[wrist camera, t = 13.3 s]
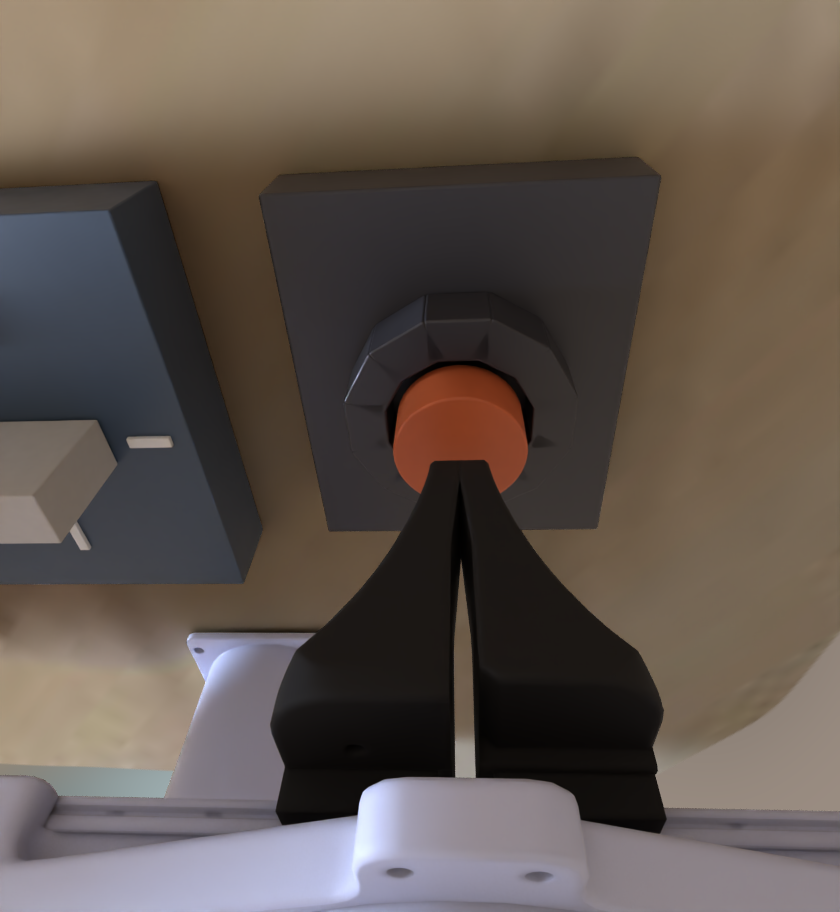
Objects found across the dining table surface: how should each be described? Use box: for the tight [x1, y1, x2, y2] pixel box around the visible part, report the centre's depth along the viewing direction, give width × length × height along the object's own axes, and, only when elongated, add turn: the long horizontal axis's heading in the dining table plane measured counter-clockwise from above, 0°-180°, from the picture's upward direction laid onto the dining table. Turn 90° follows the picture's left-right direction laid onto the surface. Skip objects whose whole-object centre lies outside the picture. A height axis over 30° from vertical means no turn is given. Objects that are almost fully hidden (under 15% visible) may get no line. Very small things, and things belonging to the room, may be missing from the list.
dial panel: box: [0, 181, 263, 584], centre depth 20 cm, size 14×11×3 cm
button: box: [393, 365, 528, 494], centre depth 16 cm, size 4×4×2 cm
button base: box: [259, 157, 661, 531], centre depth 18 cm, size 12×10×4 cm
